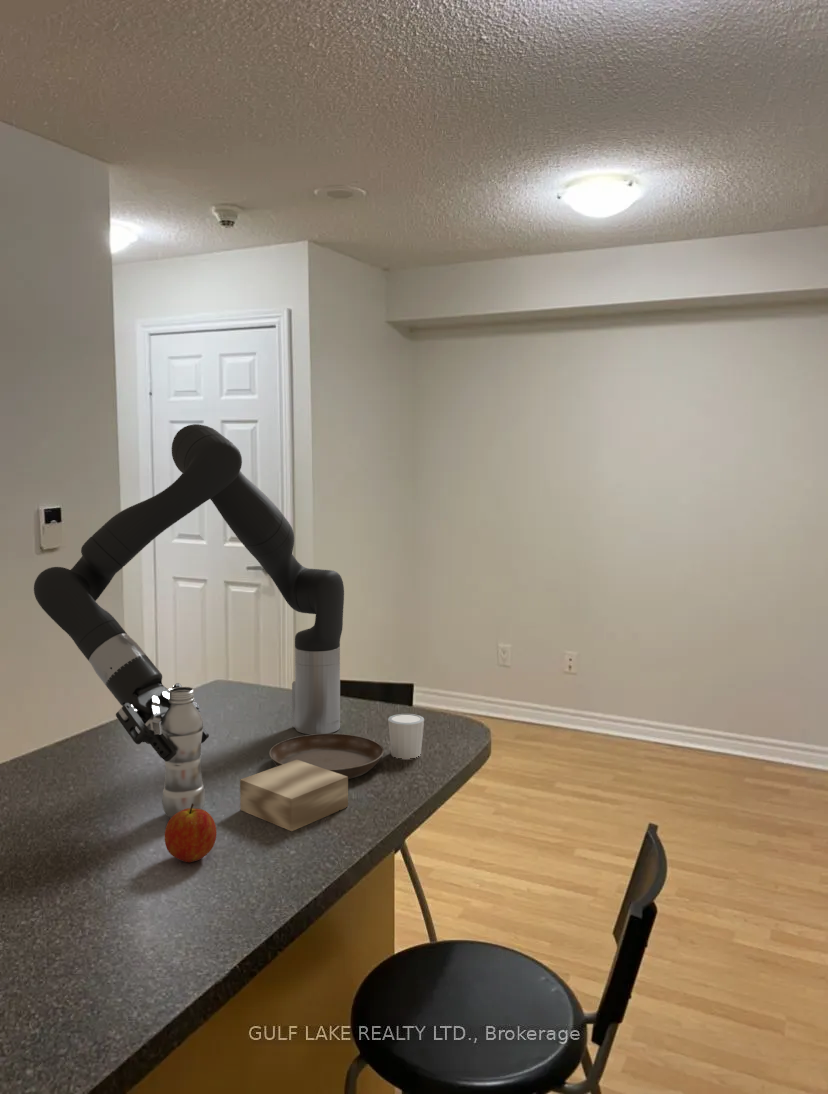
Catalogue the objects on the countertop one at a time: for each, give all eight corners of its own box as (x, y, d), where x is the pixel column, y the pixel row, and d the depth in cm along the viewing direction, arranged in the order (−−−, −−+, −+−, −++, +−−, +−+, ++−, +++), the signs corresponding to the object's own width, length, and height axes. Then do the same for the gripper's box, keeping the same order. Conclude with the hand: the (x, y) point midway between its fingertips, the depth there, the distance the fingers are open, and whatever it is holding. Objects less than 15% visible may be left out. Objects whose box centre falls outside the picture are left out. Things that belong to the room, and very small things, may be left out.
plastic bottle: (214, 810, 134) (212, 686, 132) (189, 827, 127) (186, 697, 125) (179, 804, 136) (176, 682, 134) (153, 821, 129) (150, 693, 127)
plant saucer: (322, 741, 168) (322, 725, 168) (406, 762, 156) (406, 745, 156) (245, 771, 151) (245, 753, 151) (332, 798, 139) (332, 778, 139)
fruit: (154, 865, 115) (153, 809, 114) (184, 844, 121) (183, 790, 121) (197, 874, 113) (197, 816, 112) (226, 852, 119) (225, 797, 118)
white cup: (425, 749, 163) (425, 713, 162) (422, 761, 156) (422, 724, 156) (390, 747, 164) (390, 712, 163) (385, 759, 157) (385, 723, 156)
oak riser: (240, 810, 134) (240, 779, 133) (296, 788, 143) (296, 759, 142) (291, 831, 126) (291, 799, 125) (347, 806, 135) (347, 776, 135)
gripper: (108, 664, 125) (175, 748, 122) (167, 645, 138) (228, 721, 136) (80, 695, 127) (145, 779, 124) (141, 674, 141) (201, 749, 138)
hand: (188, 748), depth 130 cm, fingers open, 8 cm apart
